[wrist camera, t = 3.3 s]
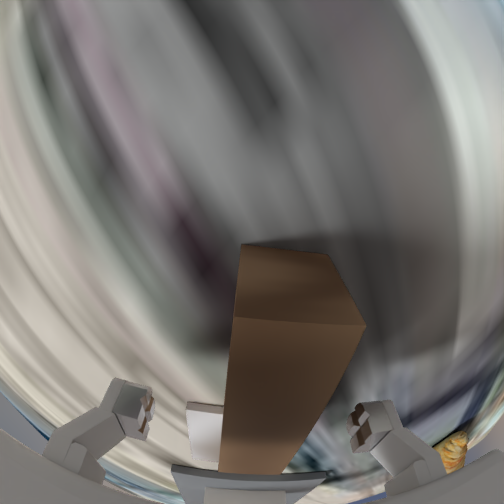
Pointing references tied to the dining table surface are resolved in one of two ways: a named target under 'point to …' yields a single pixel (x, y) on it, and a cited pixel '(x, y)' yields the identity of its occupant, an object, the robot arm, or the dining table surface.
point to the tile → (243, 496)
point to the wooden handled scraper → (277, 361)
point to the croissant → (453, 451)
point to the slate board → (242, 483)
